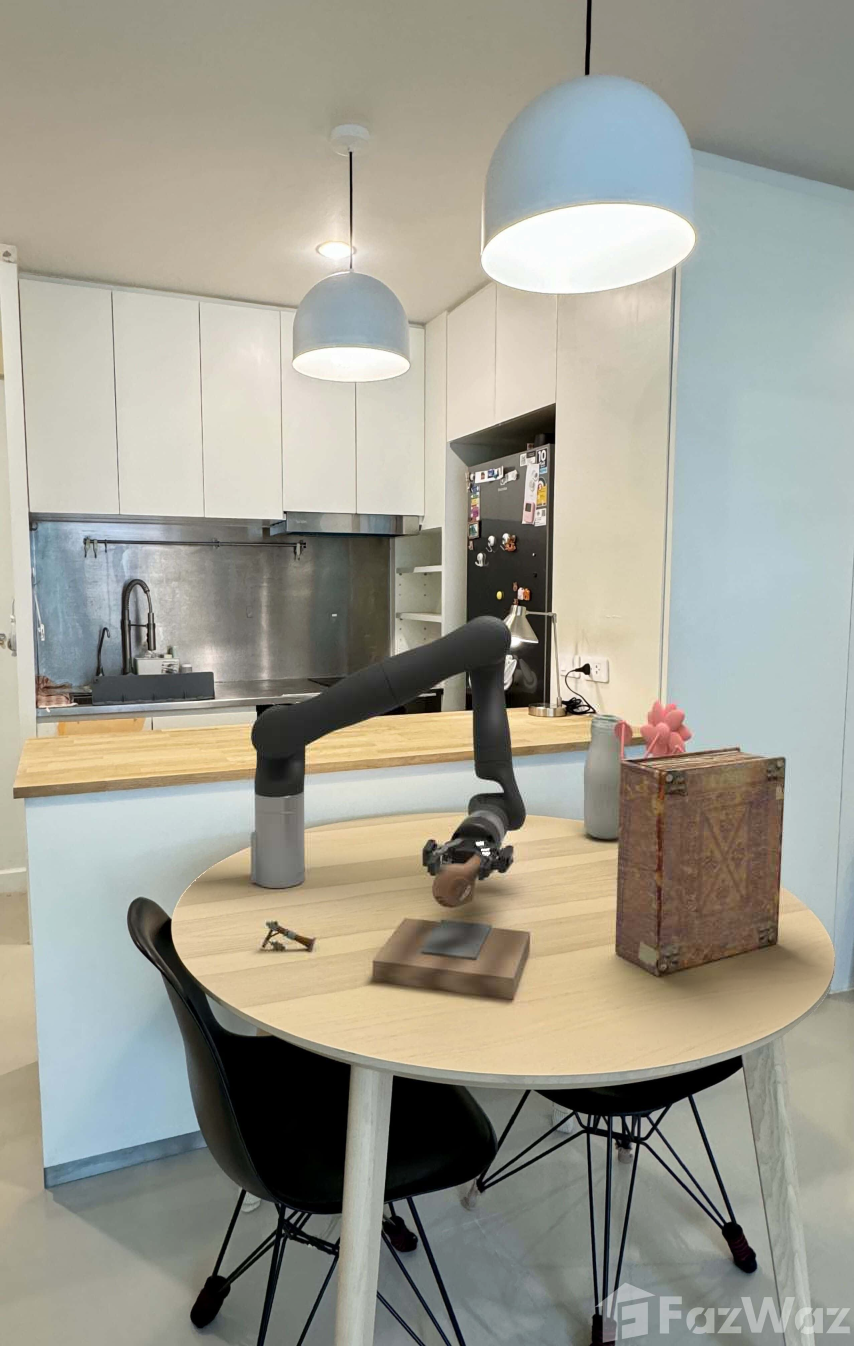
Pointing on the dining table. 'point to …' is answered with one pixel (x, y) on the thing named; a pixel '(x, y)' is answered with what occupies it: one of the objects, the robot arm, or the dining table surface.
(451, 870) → the oil lamp
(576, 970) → the dining table surface
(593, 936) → the dining table surface
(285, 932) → the wooden blunderbuss cannon
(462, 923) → the wooden block
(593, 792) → the glass bottle
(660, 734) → the pink flower ornament
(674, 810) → the book
